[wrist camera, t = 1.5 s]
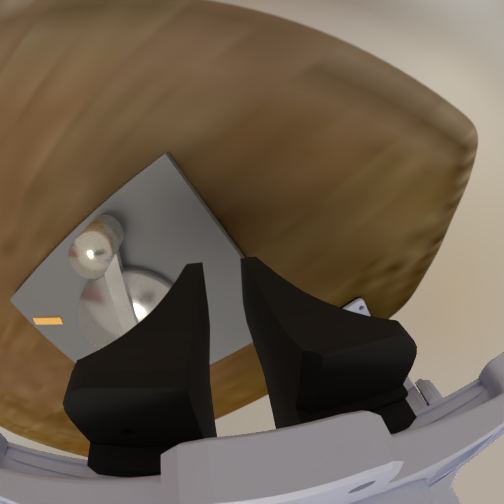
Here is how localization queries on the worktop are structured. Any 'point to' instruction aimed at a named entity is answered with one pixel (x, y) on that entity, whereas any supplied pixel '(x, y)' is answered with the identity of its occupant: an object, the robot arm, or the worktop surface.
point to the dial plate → (146, 260)
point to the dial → (111, 284)
